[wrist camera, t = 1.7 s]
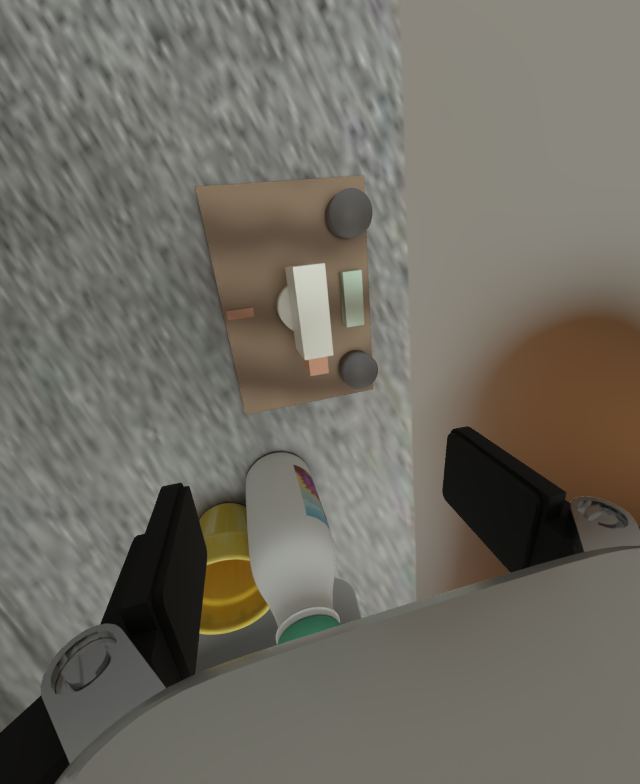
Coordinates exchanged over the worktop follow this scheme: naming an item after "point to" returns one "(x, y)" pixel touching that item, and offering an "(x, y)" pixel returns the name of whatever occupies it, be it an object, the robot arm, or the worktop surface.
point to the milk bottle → (290, 546)
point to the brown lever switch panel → (268, 277)
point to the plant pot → (228, 572)
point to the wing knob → (308, 314)
